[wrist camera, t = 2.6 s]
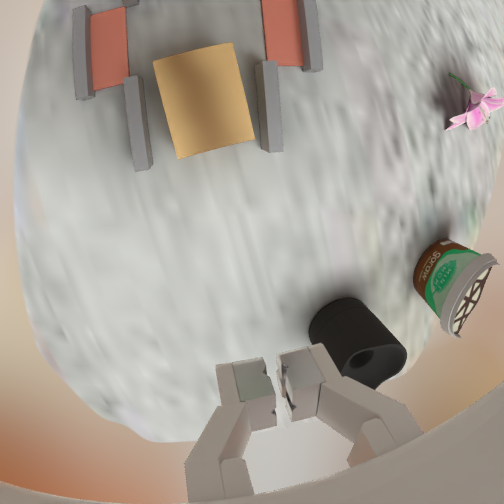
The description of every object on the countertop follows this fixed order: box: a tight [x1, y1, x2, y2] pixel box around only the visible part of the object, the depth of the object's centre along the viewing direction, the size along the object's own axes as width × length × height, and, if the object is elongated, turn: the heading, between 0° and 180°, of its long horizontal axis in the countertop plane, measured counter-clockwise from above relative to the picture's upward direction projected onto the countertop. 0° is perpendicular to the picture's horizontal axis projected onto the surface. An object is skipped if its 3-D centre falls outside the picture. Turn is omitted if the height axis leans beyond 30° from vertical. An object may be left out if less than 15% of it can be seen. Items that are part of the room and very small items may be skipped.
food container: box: [413, 239, 499, 338], centre depth 33 cm, size 12×6×10 cm, turn 166°
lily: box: [446, 73, 504, 130], centre depth 25 cm, size 12×12×10 cm
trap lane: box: [73, 0, 323, 172], centre depth 18 cm, size 22×26×5 cm
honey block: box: [152, 42, 255, 159], centre depth 22 cm, size 6×8×5 cm
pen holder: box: [309, 298, 407, 390], centre depth 34 cm, size 9×9×10 cm
